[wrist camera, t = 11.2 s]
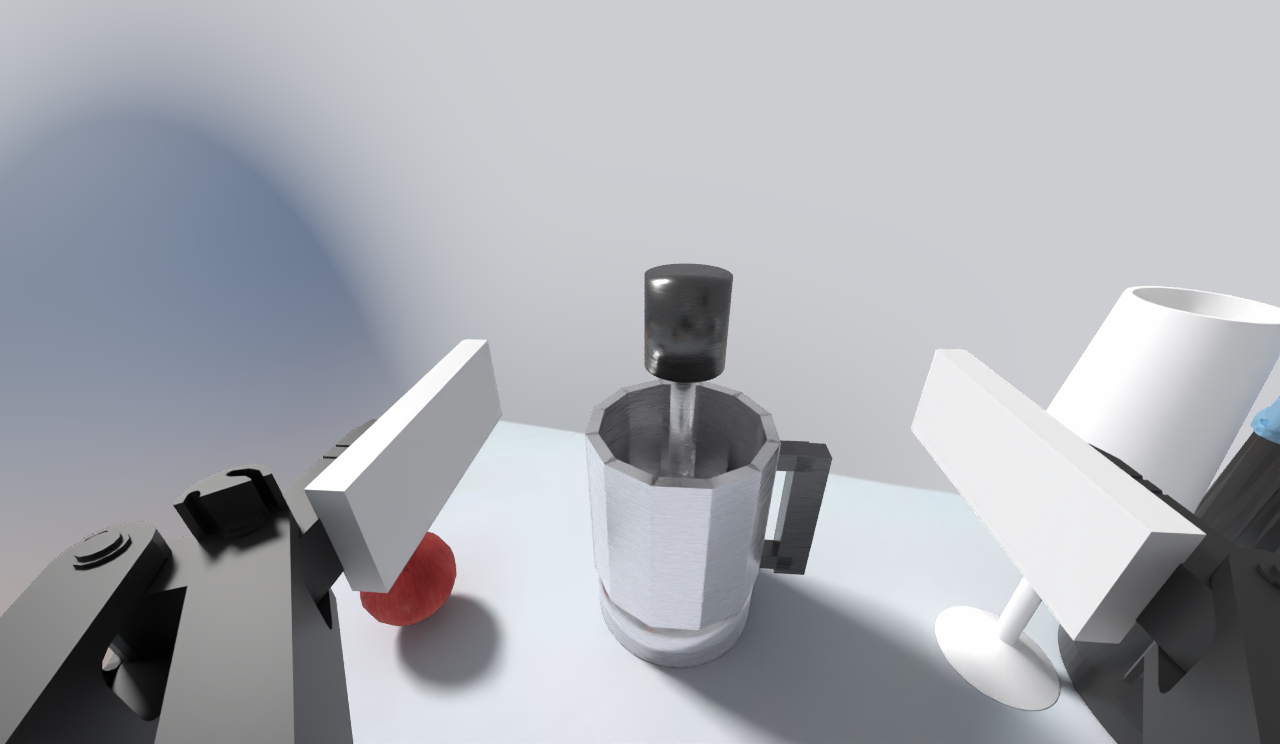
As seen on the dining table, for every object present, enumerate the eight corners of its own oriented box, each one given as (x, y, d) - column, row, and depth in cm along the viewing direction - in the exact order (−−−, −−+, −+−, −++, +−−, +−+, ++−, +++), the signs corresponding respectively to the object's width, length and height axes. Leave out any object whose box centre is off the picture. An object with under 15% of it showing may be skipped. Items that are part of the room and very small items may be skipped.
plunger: (727, 508, 35) (757, 257, 26) (740, 603, 28) (786, 302, 19) (625, 503, 35) (618, 255, 26) (611, 595, 28) (596, 297, 19)
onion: (362, 658, 29) (322, 575, 26) (393, 581, 34) (363, 503, 31) (455, 645, 30) (428, 563, 26) (471, 572, 35) (451, 494, 31)
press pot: (779, 539, 38) (809, 383, 31) (813, 678, 28) (869, 497, 21) (610, 529, 39) (603, 377, 32) (587, 661, 29) (570, 482, 22)
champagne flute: (1051, 738, 25) (1368, 351, 14) (920, 651, 30) (1085, 302, 18) (1067, 654, 29) (1323, 303, 18) (950, 588, 34) (1101, 272, 23)
